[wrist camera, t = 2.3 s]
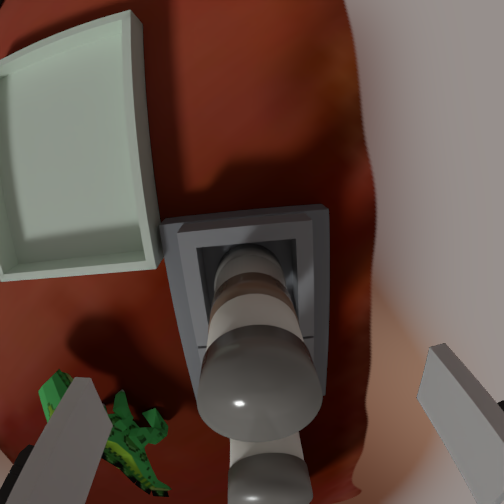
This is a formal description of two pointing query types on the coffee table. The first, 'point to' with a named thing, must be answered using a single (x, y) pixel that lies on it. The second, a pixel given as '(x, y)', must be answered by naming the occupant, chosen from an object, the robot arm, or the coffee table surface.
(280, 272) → the cylinder
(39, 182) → the parts tray
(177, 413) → the coffee table surface
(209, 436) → the coffee table surface
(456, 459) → the robot arm
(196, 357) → the fuse block
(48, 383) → the toy
